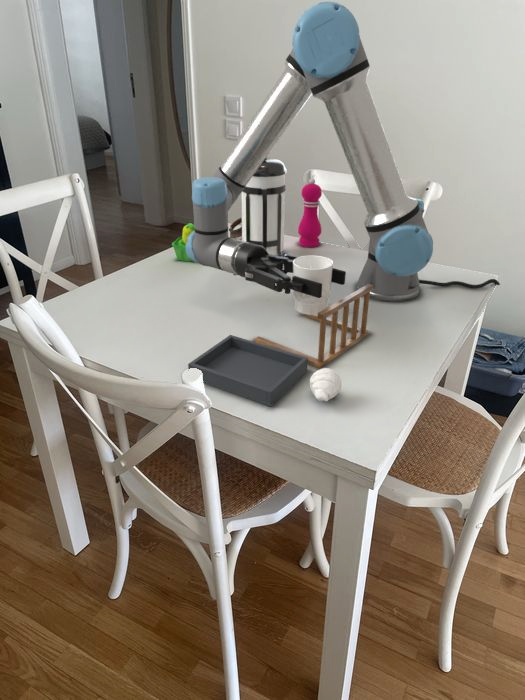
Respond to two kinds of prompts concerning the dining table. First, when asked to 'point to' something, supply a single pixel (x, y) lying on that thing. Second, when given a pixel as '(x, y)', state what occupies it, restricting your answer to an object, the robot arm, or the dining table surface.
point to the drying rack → (335, 327)
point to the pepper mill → (310, 215)
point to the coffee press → (265, 207)
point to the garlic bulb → (325, 384)
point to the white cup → (317, 272)
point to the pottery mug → (237, 232)
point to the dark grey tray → (250, 369)
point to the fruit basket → (183, 243)
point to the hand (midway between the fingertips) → (332, 284)
